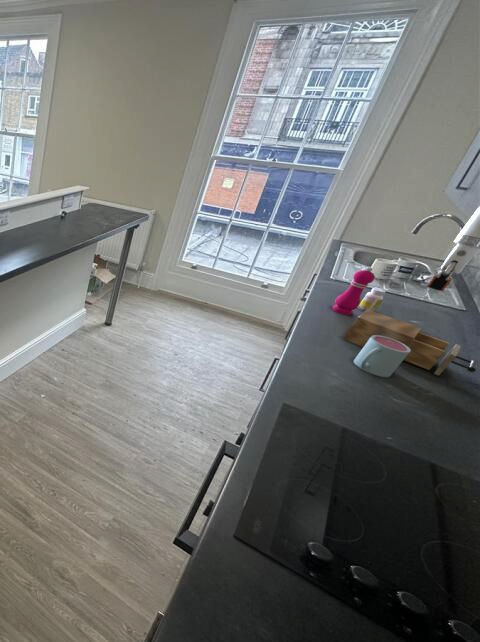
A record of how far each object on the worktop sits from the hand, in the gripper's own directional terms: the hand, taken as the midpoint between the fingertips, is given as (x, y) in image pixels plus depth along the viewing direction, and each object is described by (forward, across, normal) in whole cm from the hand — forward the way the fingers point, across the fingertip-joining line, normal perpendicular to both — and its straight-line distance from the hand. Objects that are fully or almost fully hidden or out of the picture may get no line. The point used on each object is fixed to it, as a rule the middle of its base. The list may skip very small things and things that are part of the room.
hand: (436, 287), depth 149 cm
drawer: (+16, -35, -10) cm, 40 cm away
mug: (+17, -58, 0) cm, 61 cm away
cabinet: (+17, -36, +3) cm, 40 cm away
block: (0, 0, 0) cm, 0 cm away
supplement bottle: (+17, 0, +13) cm, 22 cm away
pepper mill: (+17, -13, +18) cm, 28 cm away
